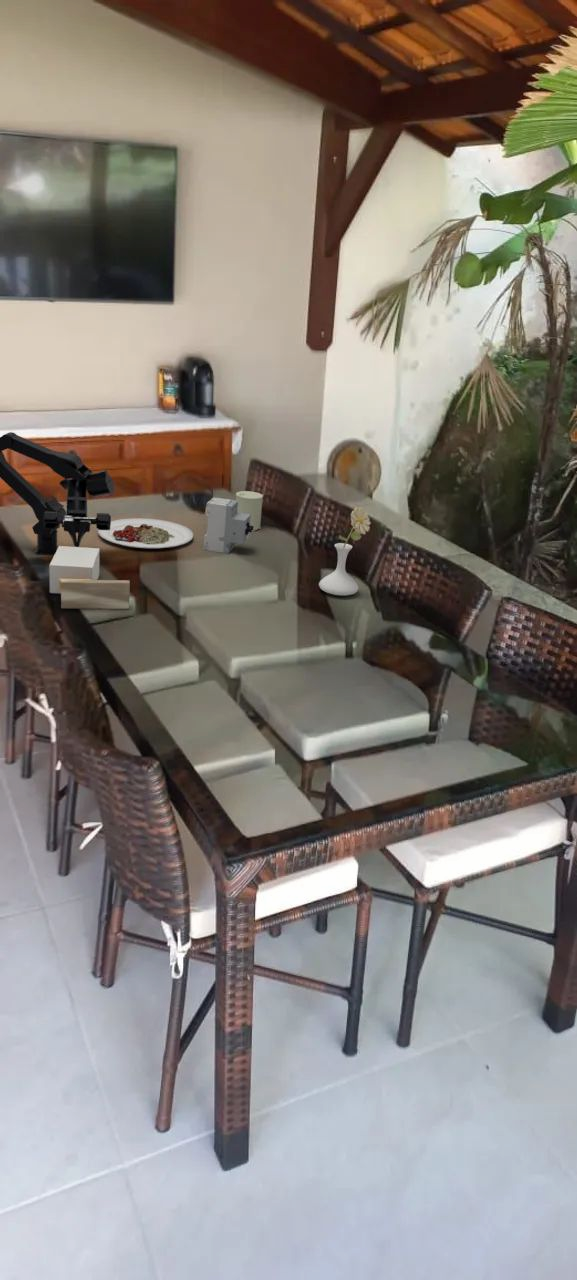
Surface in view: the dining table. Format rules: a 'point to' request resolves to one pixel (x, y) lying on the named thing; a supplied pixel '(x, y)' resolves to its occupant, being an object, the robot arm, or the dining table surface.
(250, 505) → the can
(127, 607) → the board
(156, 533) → the plated food
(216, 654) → the dining table surface
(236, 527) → the circuit breaker
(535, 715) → the dining table surface
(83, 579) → the rail latch
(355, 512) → the flower in vase
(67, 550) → the box
